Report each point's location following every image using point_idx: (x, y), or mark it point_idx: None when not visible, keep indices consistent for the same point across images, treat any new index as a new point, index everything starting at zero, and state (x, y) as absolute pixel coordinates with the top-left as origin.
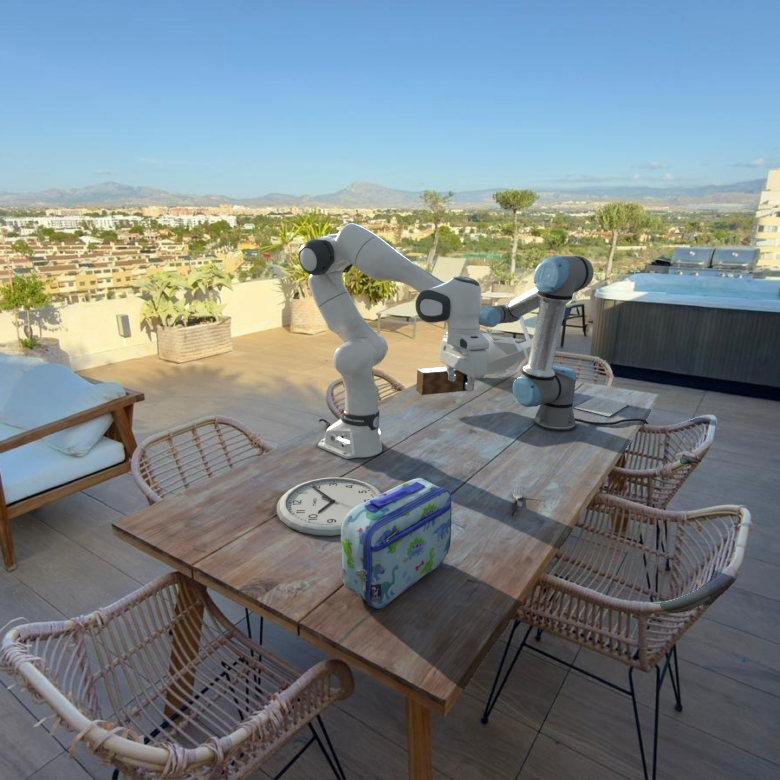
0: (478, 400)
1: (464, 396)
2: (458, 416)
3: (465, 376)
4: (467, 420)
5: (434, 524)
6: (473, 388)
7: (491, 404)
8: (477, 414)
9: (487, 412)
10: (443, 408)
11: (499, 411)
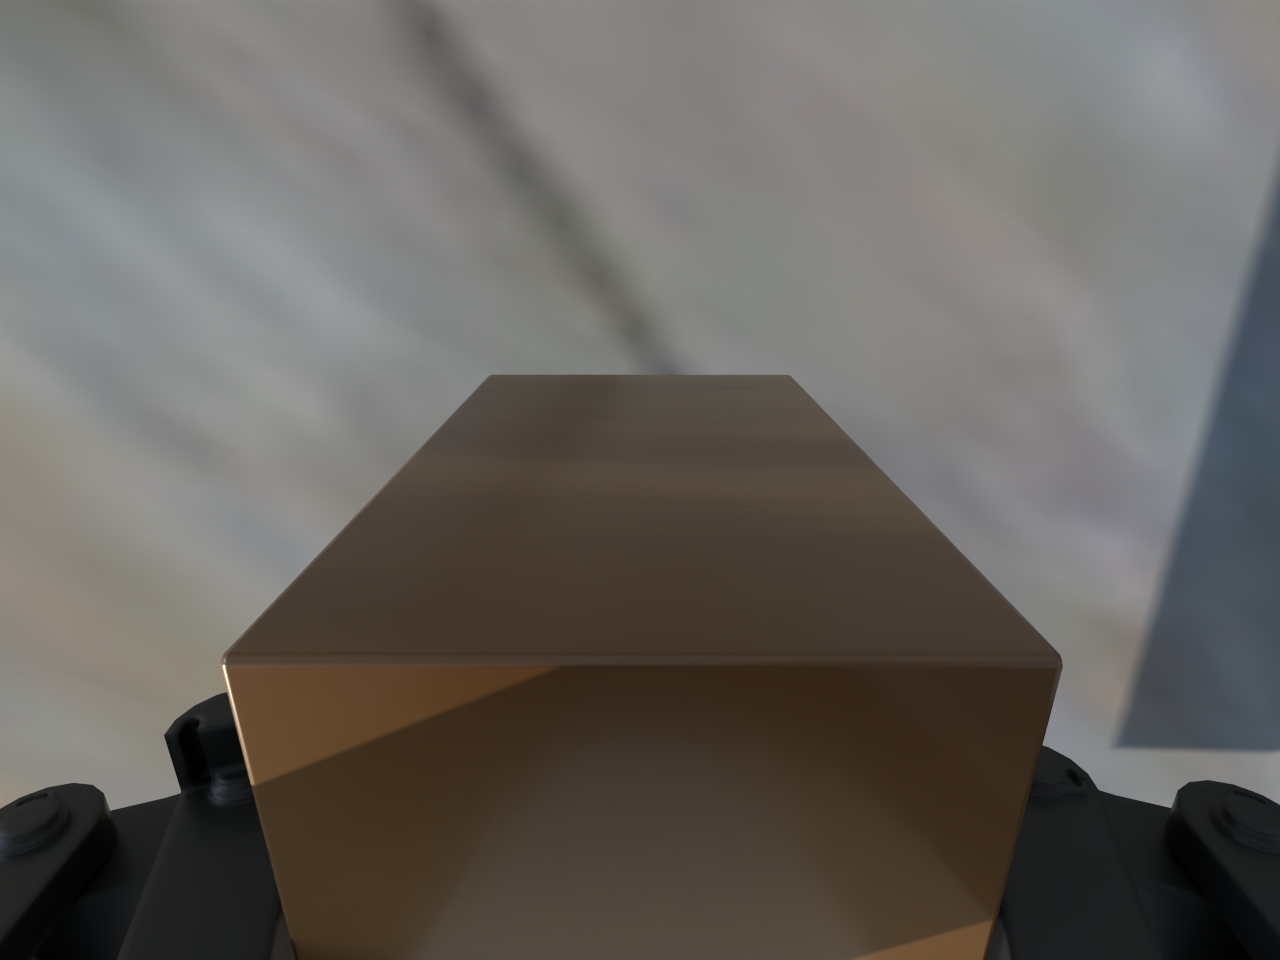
0: (639, 143)
1: (387, 270)
2: (1079, 715)
3: None
4: (1239, 688)
5: None
6: (799, 389)
7: (908, 24)
8: (1154, 490)
9: (1174, 318)
10: None
11: (1255, 97)
